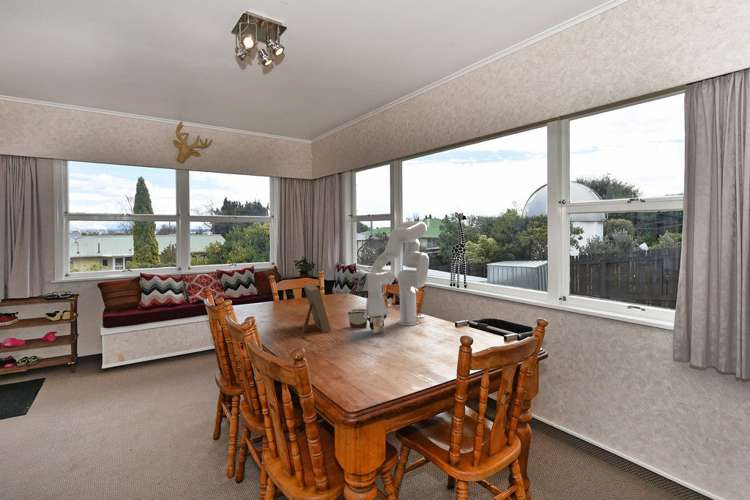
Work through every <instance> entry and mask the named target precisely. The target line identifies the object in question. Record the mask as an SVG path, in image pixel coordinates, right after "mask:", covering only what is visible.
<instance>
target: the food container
mask: <svg viewBox="0 0 750 500" xmlns="http://www.w3.org/2000/svg"><path fill="white" fill-rule="evenodd" d="M365 312H366V308H355V309H354V308H353V309H349V310H348V311H347V315H348V320H349V328H350V329H367V328H368V320H367V319H365V318H364V317H363V315H364V314H365ZM367 317H368V318H369V316H368V315H367Z"/></svg>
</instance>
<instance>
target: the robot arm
mask: <svg viewBox="0 0 750 500" xmlns="http://www.w3.org/2000/svg"><path fill="white" fill-rule="evenodd" d="M427 228H428V227H427V224H426V223H425V222H423V221H419V220H418V221H417V220H416V221H404V222H402V223H401V224H400V225H399V227H395V228H393V229H392V230H391V233H390V235H389V238H388V241H387V244H386V246H385V249H384V251H383V252H381V254H380V255H379V256H378V257H377V258H376V259H375V261H374V262H373V264H372V266H371V269H370V272H368V273H367V293H368V297H367V298H366V302H365V303H366V305H365V309H366V312H365V314H364V315H363V317H364V318H365V319H367V322H369V323H368V324H369V329H370V330H371V329H372V330H373V322H372V320H373V317H376V316H381V317H382V320H383V327H384V326H385V320H386V318H387V317H388V316H389V315H390V312H389V311H388V310H387V309H386V303H385V297H384V295H385V293H386V292H385V291H383V285H390V284H392V283H393V282H394V281H395V278H396V274H395V273H394V272H393V271H392V270H387V269H383V268H384V267H385V265H386V264H388V263H390V262H392V261H393V260H395V259H397V258H399V256H400V255H401V251H402V248H403V245H404V243H405V246H404V253H403V258H402V264H403V266H404V267H405V268H409V269H402V270H400V271H399V272H398V273H397V278H396V279H397V283H398V288H399V313H400V314H399V316H400V317H399V320H397V324H398V325H401V326H416V325H419V323H420V320H423V319H425V315H423V314H422V315H418V314H417V292H416V290H415V288H422V287H424V286H425V285H426V283H427V279H428V272H429V266H430V258H429V256H428V254H427V253H426V252H423V251H420V247H421V246H420V240H419V239H420V238H422V237H423V236H425V234H426V233H427V230H428V229H427ZM413 269H414V270H413ZM367 315H368V317H367Z"/></svg>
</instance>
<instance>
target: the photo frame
mask: <svg viewBox="0 0 750 500" xmlns="http://www.w3.org/2000/svg"><path fill="white" fill-rule="evenodd" d="M303 289H304V292H305V295H306V298H307V302H308V305H309V308H308V312H307V313H306V317H305V320H304V322H303V329H302V333H303V334H304V333H305V332H307V329H308V326H309V321H310V318H311V315H312V318H313V321H314V324H315V326H317V328H319V330H321V332H322V333H327V332H330V331H331V330H332V329H331V325H330V321H329V318H328V315H327V312H326V308H325V305H324V302H323V297H322V295H321V290H320V288H319V287H317V286H315V284H313V283H311V282H310V283H307V284H304V285H303Z"/></svg>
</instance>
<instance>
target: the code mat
mask: <svg viewBox="0 0 750 500" xmlns="http://www.w3.org/2000/svg"><path fill="white" fill-rule="evenodd" d="M344 335H345V337H347V338H348V340H349V341H351V342H355V341H360V340H361V341H362V340H369V339H378V338H385V337H388V335H387V334H385V332H384V331H383V332H378V333H373V332H372V331H371V330H365V331H357V332H350V333H349V332H348V333H344Z"/></svg>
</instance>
